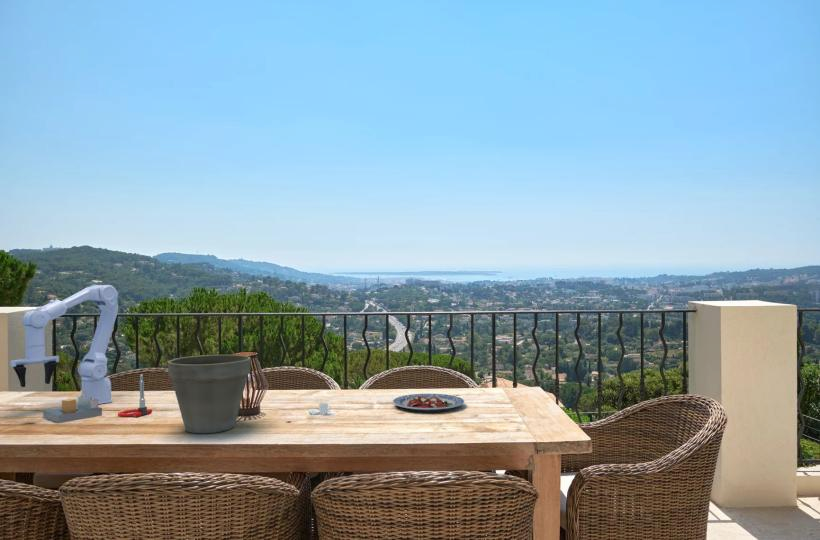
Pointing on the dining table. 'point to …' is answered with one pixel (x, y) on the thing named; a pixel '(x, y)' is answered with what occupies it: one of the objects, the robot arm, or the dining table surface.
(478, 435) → the dining table surface
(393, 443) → the dining table surface
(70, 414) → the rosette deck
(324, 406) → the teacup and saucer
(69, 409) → the tan rectangular block
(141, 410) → the tow hook
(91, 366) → the robot arm
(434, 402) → the ceramic plate
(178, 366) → the plant pot
